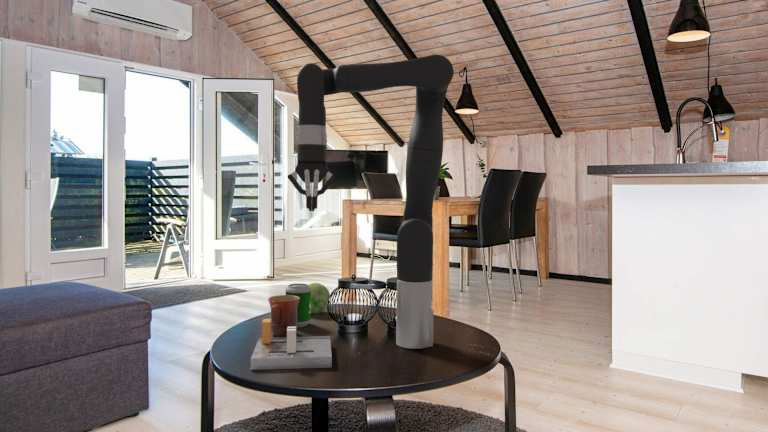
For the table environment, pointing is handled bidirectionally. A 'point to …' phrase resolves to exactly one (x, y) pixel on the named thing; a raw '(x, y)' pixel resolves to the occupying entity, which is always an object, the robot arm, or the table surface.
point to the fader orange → (266, 331)
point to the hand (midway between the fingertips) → (311, 210)
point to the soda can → (301, 302)
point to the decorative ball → (318, 297)
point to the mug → (283, 313)
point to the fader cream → (291, 339)
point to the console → (307, 353)
